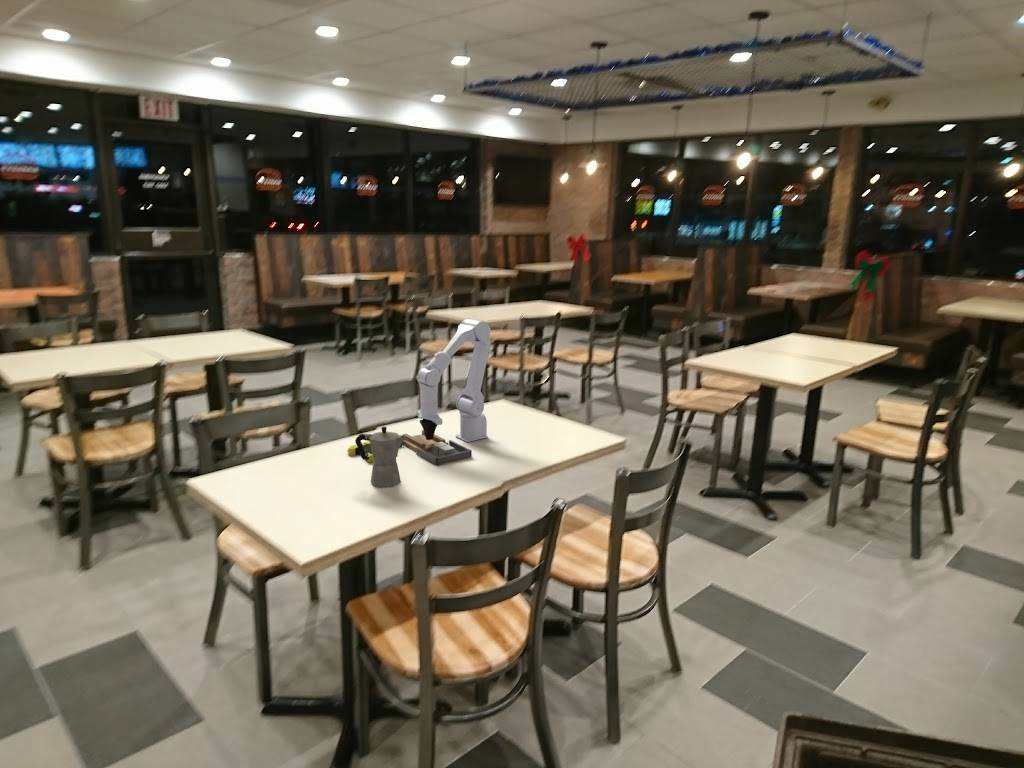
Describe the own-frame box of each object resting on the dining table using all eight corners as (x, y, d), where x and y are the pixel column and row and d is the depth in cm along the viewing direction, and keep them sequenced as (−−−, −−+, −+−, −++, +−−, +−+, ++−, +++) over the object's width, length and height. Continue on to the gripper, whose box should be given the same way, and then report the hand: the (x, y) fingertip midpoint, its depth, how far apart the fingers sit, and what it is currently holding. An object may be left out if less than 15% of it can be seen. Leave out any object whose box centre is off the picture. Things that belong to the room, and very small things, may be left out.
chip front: (448, 453, 230) (448, 444, 229) (454, 456, 227) (454, 448, 226) (438, 455, 228) (438, 447, 227) (444, 458, 225) (444, 450, 224)
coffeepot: (409, 477, 210) (408, 422, 205) (404, 488, 201) (403, 431, 196) (360, 476, 210) (358, 421, 205) (353, 488, 200) (351, 431, 196)
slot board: (428, 436, 248) (428, 429, 248) (448, 446, 237) (448, 439, 237) (399, 442, 241) (399, 434, 240) (418, 453, 230) (418, 445, 230)
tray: (450, 446, 238) (450, 440, 238) (471, 457, 228) (471, 450, 227) (416, 454, 230) (416, 447, 229) (436, 465, 220) (436, 458, 219)
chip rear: (441, 449, 233) (441, 441, 233) (447, 452, 230) (447, 444, 230) (431, 452, 231) (431, 443, 230) (437, 455, 228) (437, 446, 227)
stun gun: (415, 444, 232) (391, 434, 242) (368, 457, 219) (344, 446, 229) (415, 452, 233) (391, 442, 243) (368, 465, 220) (344, 454, 230)
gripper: (408, 399, 235) (409, 436, 239) (429, 409, 224) (430, 447, 228) (425, 396, 240) (426, 432, 243) (447, 405, 228) (447, 443, 232)
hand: (429, 439), depth 236 cm, fingers closed
